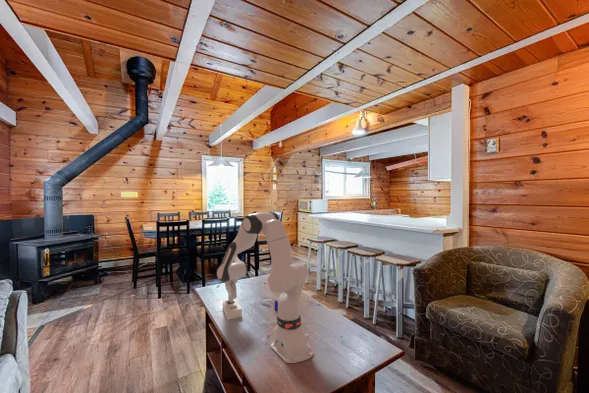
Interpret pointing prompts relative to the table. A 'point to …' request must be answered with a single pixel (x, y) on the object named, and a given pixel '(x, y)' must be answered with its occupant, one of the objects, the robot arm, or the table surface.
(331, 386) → the table surface
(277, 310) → the cable clip
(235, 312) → the hole block
